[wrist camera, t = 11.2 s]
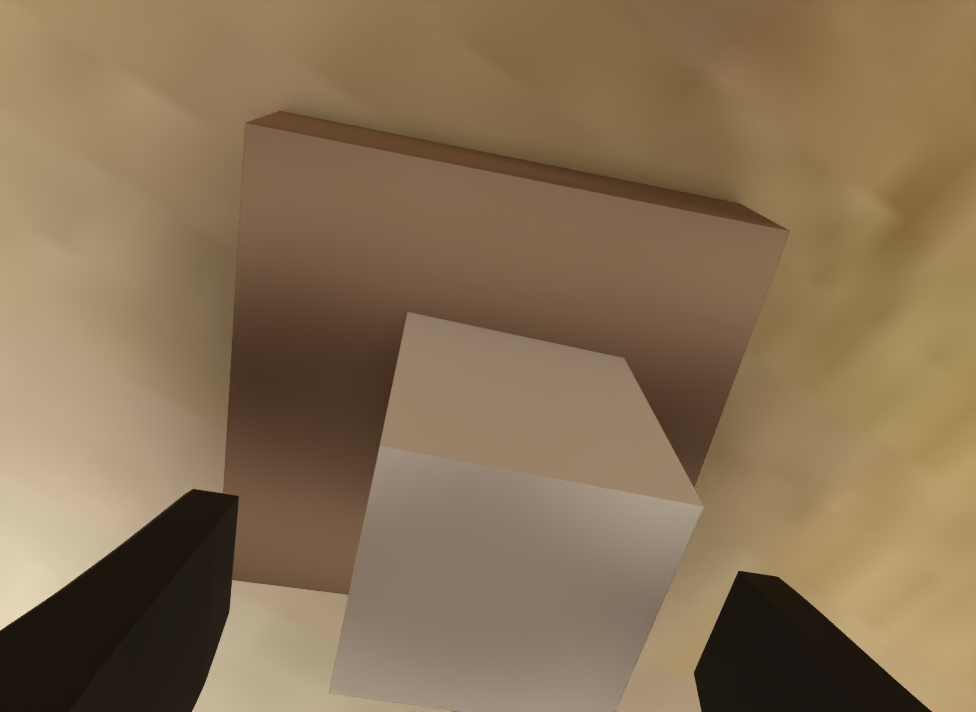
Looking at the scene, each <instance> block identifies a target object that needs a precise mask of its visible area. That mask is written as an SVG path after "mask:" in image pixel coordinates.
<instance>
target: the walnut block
mask: <svg viewBox="0 0 976 712" xmlns="http://www.w3.org/2000/svg"><path fill="white" fill-rule="evenodd" d="M789 232H790V231H789V230H787V229H785V228H783V227H782V226H780V225H778V224H776V223H774V222H772V221H771V220H769V219H767V218H765V217H763V216H762V215H760V214H758V213H756V212H754V211H752V210H751V209H749V208H747V207H745V206H743V205H741V204H739V203H734V202H729V201H724V200H719V199H714V198H709V197H704V196H699V195H694V194H689V193H684V192H679V191H674V190H669V189H664V188H659V187H654V186H649V185H644V184H639V183H634V182H629V181H624V180H620V179H615V178H610V177H605V176H600V175H595V174H590V173H585V172H580V171H575V170H570V169H565V168H560V167H555V166H550V165H545V164H540V163H535V162H530V161H525V160H520V159H515V158H510V157H505V156H500V155H495V154H490V153H485V152H480V151H476V150H471V149H466V148H461V147H456V146H451V145H446V144H441V143H436V142H431V141H426V140H421V139H416V138H411V137H406V136H401V135H396V134H391V133H386V132H381V131H376V130H371V129H366V128H361V127H356V126H351V125H346V124H341V123H336V122H332V121H327V120H322V119H317V118H312V117H307V116H302V115H297V114H292V113H287V112H282V111H279V112H276V113H273V114H270V115H267V116H265V117H262V118H259V119H256V120H253V121H250V122H247V123H245V138H244V155H243V172H242V188H241V205H240V222H239V239H238V255H237V272H236V289H235V305H234V322H233V339H232V355H231V372H230V389H229V405H228V422H227V439H226V455H225V472H224V489H223V494H229V495H236V496H239V504H238V516H237V527H236V539H235V550H234V562H233V574H232V580H237V581H245V582H253V583H261V584H269V585H277V586H285V587H292V588H300V589H308V590H316V591H324V592H332V593H340V594H348V595H349V591H350V586H351V581H352V576H353V572H354V567H355V562H356V557H357V552H358V547H359V542H360V537H361V533H362V528H363V523H364V518H365V513H366V508H367V503H368V498H369V494H370V489H371V484H372V479H373V475H374V470H375V465H376V460H377V455H378V451H379V446H380V441H381V436H382V431H383V427H384V422H385V417H386V412H387V408H388V403H389V398H390V393H391V388H392V384H393V379H394V374H395V369H396V364H397V360H398V355H399V350H400V345H401V341H402V336H403V331H404V326H405V321H406V317H407V312H411V313H415V314H420V315H425V316H429V317H434V318H439V319H444V320H448V321H453V322H458V323H462V324H467V325H472V326H476V327H481V328H486V329H490V330H495V331H500V332H505V333H509V334H514V335H519V336H523V337H528V338H533V339H537V340H542V341H547V342H551V343H556V344H561V345H566V346H570V347H575V348H580V349H584V350H589V351H594V352H598V353H603V354H608V355H612V356H617V357H622V358H624V359H625V361H626V362H627V364H628V366H629V368H630V370H631V372H632V374H633V375H634V377H635V379H636V381H637V383H638V385H639V387H640V388H641V390H642V392H643V394H644V396H645V398H646V400H647V401H648V403H649V405H650V407H651V409H652V411H653V413H654V414H655V416H656V418H657V420H658V422H659V424H660V426H661V428H662V429H663V431H664V433H665V435H666V437H667V439H668V441H669V442H670V444H671V446H672V448H673V450H674V452H675V454H676V455H677V457H678V459H679V461H680V463H681V465H682V467H683V468H684V470H685V472H686V474H687V476H688V478H689V480H690V481H691V483H692V485H693V487H694V486H695V483H696V481H697V478H698V475H699V473H700V470H701V467H702V465H703V462H704V459H705V457H706V454H707V451H708V449H709V446H710V443H711V441H712V438H713V435H714V433H715V430H716V427H717V424H718V422H719V419H720V416H721V414H722V411H723V408H724V406H725V403H726V400H727V398H728V395H729V392H730V390H731V387H732V384H733V382H734V379H735V376H736V374H737V371H738V368H739V366H740V363H741V360H742V358H743V355H744V352H745V350H746V347H747V344H748V341H749V339H750V336H751V333H752V331H753V328H754V325H755V323H756V320H757V317H758V315H759V312H760V309H761V307H762V304H763V301H764V299H765V296H766V293H767V291H768V288H769V285H770V283H771V280H772V277H773V275H774V272H775V269H776V267H777V264H778V261H779V258H780V256H781V253H782V250H783V248H784V245H785V242H786V240H787V237H788V234H789Z"/></svg>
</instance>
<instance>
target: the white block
mask: <svg viewBox="0 0 976 712" xmlns="http://www.w3.org/2000/svg"><path fill="white" fill-rule="evenodd" d="M703 508H704V506H703V504H702V502H701V500H700V498H699V496H698V495H697V493H696V491H695V489H694V487H693V485H692V483H691V481H690V480H689V478H688V476H687V474H686V472H685V470H684V468H683V467H682V465H681V463H680V461H679V459H678V457H677V455H676V454H675V452H674V450H673V448H672V446H671V444H670V442H669V441H668V439H667V437H666V435H665V433H664V431H663V429H662V428H661V426H660V424H659V422H658V420H657V418H656V416H655V414H654V413H653V411H652V409H651V407H650V405H649V403H648V401H647V400H646V398H645V396H644V394H643V392H642V390H641V388H640V387H639V385H638V383H637V381H636V379H635V377H634V375H633V374H632V372H631V370H630V368H629V366H628V364H627V362H626V361H625V359H624V358H622V357H617V356H612V355H608V354H603V353H598V352H594V351H589V350H584V349H580V348H575V347H570V346H566V345H561V344H556V343H551V342H547V341H542V340H537V339H533V338H528V337H523V336H519V335H514V334H509V333H505V332H500V331H495V330H490V329H486V328H481V327H476V326H472V325H467V324H462V323H458V322H453V321H448V320H444V319H439V318H434V317H429V316H425V315H420V314H415V313H411V312H407V317H406V321H405V326H404V331H403V336H402V341H401V345H400V350H399V355H398V360H397V364H396V369H395V374H394V379H393V384H392V388H391V393H390V398H389V403H388V408H387V412H386V417H385V422H384V427H383V431H382V436H381V441H380V446H379V451H378V455H377V460H376V465H375V470H374V475H373V479H372V484H371V489H370V494H369V498H368V503H367V508H366V513H365V518H364V523H363V528H362V533H361V537H360V542H359V547H358V552H357V557H356V562H355V567H354V572H353V576H352V581H351V586H350V591H349V596H348V601H347V606H346V611H345V616H344V620H343V625H342V630H341V635H340V640H339V645H338V650H337V655H336V659H335V664H334V669H333V674H332V679H331V684H330V689H329V693H330V694H337V695H344V696H352V697H359V698H366V699H373V700H380V701H387V702H394V703H401V704H408V705H415V706H422V707H429V708H437V709H444V710H451V711H458V712H615V711H616V709H617V706H618V704H619V702H620V699H621V697H622V695H623V692H624V690H625V688H626V685H627V683H628V681H629V679H630V676H631V674H632V672H633V669H634V667H635V665H636V662H637V660H638V658H639V655H640V653H641V651H642V649H643V646H644V644H645V642H646V639H647V637H648V635H649V632H650V630H651V628H652V625H653V623H654V621H655V619H656V616H657V614H658V612H659V609H660V607H661V605H662V602H663V600H664V598H665V595H666V593H667V591H668V589H669V586H670V584H671V582H672V579H673V577H674V575H675V572H676V570H677V568H678V565H679V563H680V561H681V559H682V556H683V554H684V552H685V549H686V547H687V545H688V542H689V540H690V538H691V535H692V533H693V531H694V529H695V526H696V524H697V522H698V519H699V517H700V515H701V512H702V510H703Z"/></svg>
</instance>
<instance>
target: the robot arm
mask: <svg viewBox="0 0 976 712" xmlns="http://www.w3.org/2000/svg"><path fill="white" fill-rule="evenodd" d="M238 504H239V496H236V495H229V494H223V493H216V492H209V491H203V490H196V489H192V490H191V491H189V492H188V493H186V494H185V495H183V496H182V497H181V498H179V499H178V500H177V501H176V502H174V503H173V504H172V505H171V506H169V507H168V508H167V509H166V510H164V511H163V512H162V513H161V514H159V515H158V516H157V517H156V518H154V519H153V520H152V521H151V522H149V523H148V524H147V525H146V526H144V527H143V528H142V529H141V530H139V531H138V532H137V533H135V534H134V535H133V536H132V537H130V538H129V539H128V540H126V541H125V542H124V543H123V544H121V545H120V546H119V547H117V548H116V549H115V550H114V551H112V552H111V553H110V554H108V555H107V556H106V557H104V558H103V559H101V560H100V561H99V562H97V563H96V564H95V565H93V566H92V567H91V568H89V569H88V570H87V571H85V572H84V573H83V574H81V575H80V576H78V577H77V578H76V579H74V580H73V581H72V582H70V583H69V584H68V585H66V586H65V587H64V588H62V589H61V590H59V591H58V592H57V593H55V594H54V595H52V596H51V597H49V598H48V599H46V600H45V601H43V602H42V603H40V604H39V605H38V606H36V607H35V608H33V609H32V610H30V611H29V612H27V613H26V614H24V615H23V616H21V617H20V618H18V619H17V620H15V621H14V622H12V623H11V624H9V625H8V626H6V627H5V628H3V629H2V630H0V712H192V710H193V708H194V706H195V704H196V702H197V700H198V697H199V695H200V693H201V691H202V689H203V686H204V684H205V681H206V679H207V676H208V673H209V670H210V667H211V664H212V661H213V659H214V656H215V653H216V650H217V647H218V644H219V641H220V638H221V635H222V632H223V629H224V626H225V623H226V620H227V617H228V614H229V609H230V597H231V585H232V574H233V562H234V550H235V539H236V527H237V516H238ZM694 676H695V681H696V686H697V691H698V696H699V701H700V706H701V711H702V712H932V711H930V710H929V709H928V708H927V707H926V706H925V705H923V704H922V703H921V702H920V701H919V700H918V699H917V698H915V697H914V696H913V695H912V694H911V693H910V692H909V691H907V690H906V689H905V688H904V687H903V686H902V685H901V684H900V683H898V682H897V681H896V680H895V679H894V678H893V677H892V676H891V675H889V674H888V673H887V672H886V671H885V670H884V669H883V668H882V667H880V666H879V665H878V664H877V663H876V662H875V661H874V660H873V659H872V658H870V657H869V656H868V655H867V654H866V653H865V652H864V651H863V650H862V649H861V648H859V647H858V646H857V645H856V644H855V643H854V642H853V641H852V640H851V639H849V638H848V637H847V636H846V635H845V634H844V633H843V632H842V631H841V630H839V629H838V628H837V627H836V626H835V625H834V624H833V623H832V622H831V621H829V620H828V619H827V618H826V617H825V616H824V615H823V614H822V613H820V612H819V611H818V610H817V609H816V608H815V607H814V606H813V605H811V604H810V603H809V602H808V601H807V600H806V599H804V598H803V597H802V596H801V595H800V594H799V593H797V592H796V591H795V590H794V589H793V588H791V587H790V586H789V585H787V584H786V583H785V582H784V581H782V580H781V579H780V578H778V577H776V576H769V575H763V574H756V573H749V572H743V571H738V574H737V576H736V578H735V580H734V583H733V585H732V587H731V590H730V592H729V594H728V596H727V599H726V601H725V603H724V605H723V608H722V610H721V612H720V615H719V617H718V619H717V621H716V624H715V626H714V628H713V630H712V633H711V635H710V637H709V640H708V642H707V644H706V646H705V649H704V651H703V653H702V655H701V658H700V660H699V662H698V664H697V667H696V669H695V671H694Z"/></svg>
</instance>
